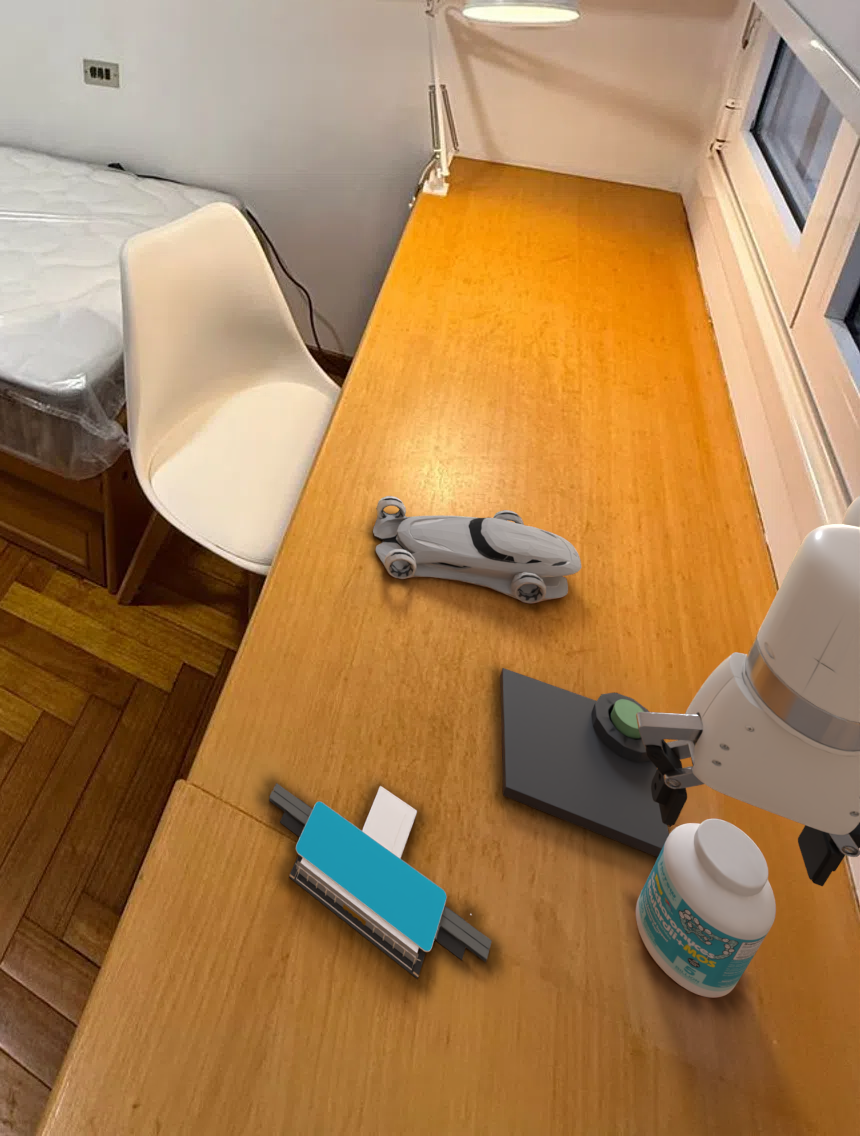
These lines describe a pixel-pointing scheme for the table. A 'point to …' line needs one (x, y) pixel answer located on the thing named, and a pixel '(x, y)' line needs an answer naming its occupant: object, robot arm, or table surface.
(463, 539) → the car model
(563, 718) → the scale
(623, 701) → the button
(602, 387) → the table surface
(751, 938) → the pill bottle
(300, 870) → the blue paper trimmer
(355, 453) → the table surface
